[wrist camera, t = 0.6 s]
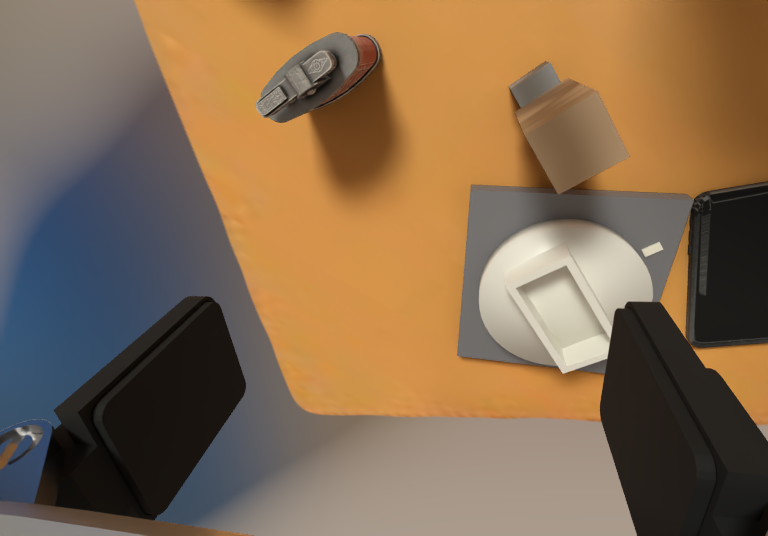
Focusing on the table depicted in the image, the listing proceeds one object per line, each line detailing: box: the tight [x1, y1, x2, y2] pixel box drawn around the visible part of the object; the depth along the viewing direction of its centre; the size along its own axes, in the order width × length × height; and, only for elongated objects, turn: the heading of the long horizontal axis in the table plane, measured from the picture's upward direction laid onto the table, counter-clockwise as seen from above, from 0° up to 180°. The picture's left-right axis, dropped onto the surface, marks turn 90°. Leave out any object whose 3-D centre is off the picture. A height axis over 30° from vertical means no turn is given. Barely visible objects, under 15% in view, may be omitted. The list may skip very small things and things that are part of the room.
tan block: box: [509, 61, 630, 195], centre depth 28 cm, size 4×7×12 cm, turn 36°
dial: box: [479, 219, 653, 374], centre depth 36 cm, size 14×14×4 cm
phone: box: [686, 181, 768, 348], centre depth 36 cm, size 8×1×15 cm
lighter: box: [256, 32, 382, 123], centre depth 31 cm, size 8×3×10 cm, turn 123°
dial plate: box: [457, 185, 694, 374], centre depth 39 cm, size 18×17×2 cm
